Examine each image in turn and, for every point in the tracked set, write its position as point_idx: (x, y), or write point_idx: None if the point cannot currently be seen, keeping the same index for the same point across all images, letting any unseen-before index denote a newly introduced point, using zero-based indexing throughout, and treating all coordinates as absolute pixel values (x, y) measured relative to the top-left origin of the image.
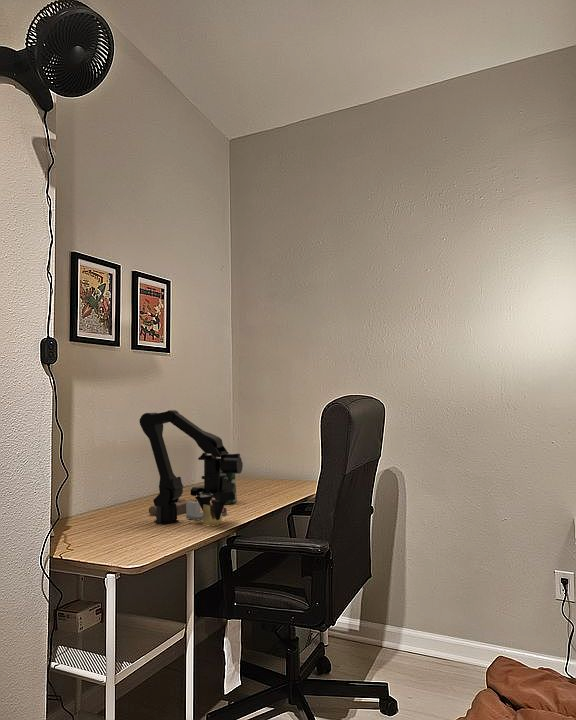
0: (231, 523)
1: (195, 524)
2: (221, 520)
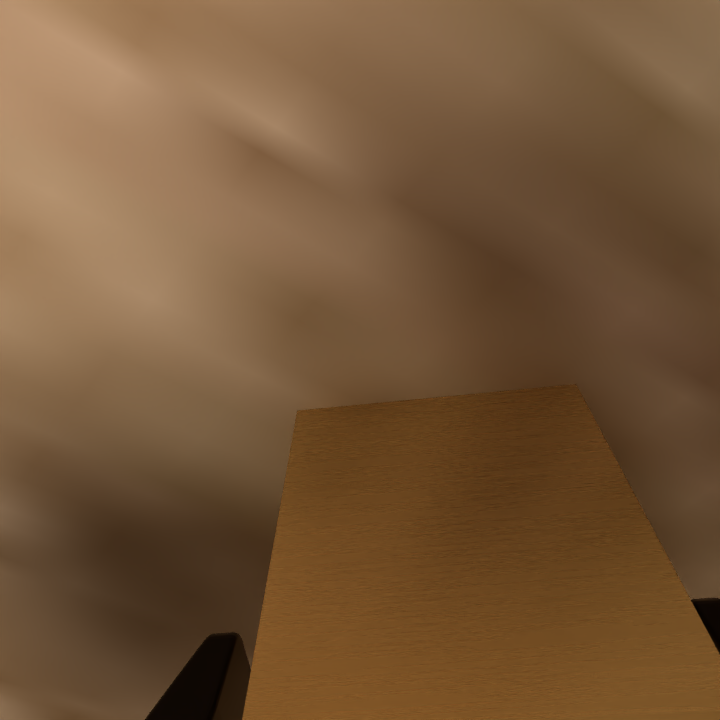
0: (685, 133)
1: None
2: (605, 449)
